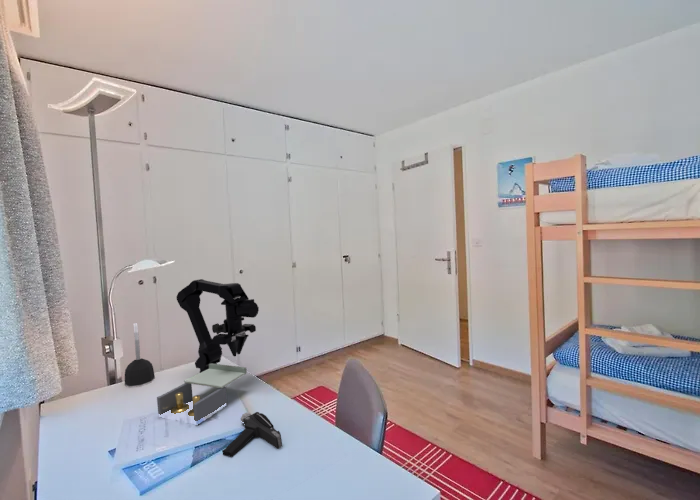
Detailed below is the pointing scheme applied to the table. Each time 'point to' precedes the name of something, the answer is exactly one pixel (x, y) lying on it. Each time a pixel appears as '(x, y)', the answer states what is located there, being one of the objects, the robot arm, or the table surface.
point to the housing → (200, 407)
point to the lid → (217, 375)
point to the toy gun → (254, 433)
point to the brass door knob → (179, 404)
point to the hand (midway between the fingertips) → (236, 355)
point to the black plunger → (138, 367)
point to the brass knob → (195, 399)
